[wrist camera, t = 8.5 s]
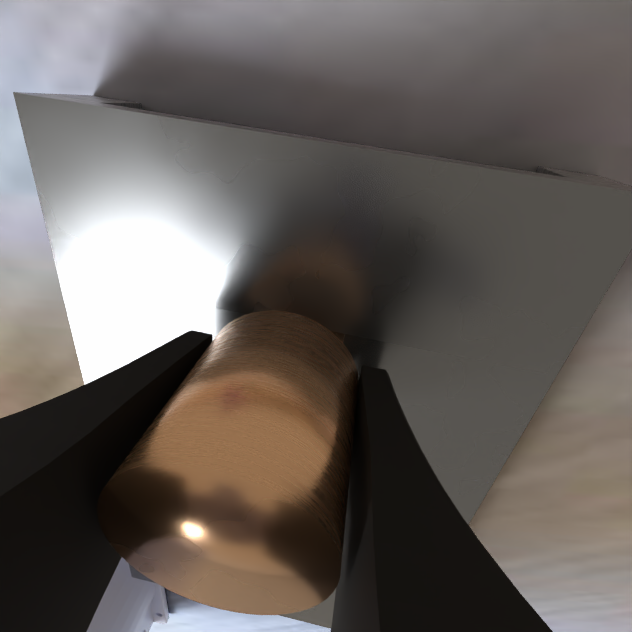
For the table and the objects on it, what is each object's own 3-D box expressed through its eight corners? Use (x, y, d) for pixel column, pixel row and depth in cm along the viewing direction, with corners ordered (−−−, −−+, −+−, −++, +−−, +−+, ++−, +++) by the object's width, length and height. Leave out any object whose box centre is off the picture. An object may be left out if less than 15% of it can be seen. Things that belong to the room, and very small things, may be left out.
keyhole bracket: (395, 587, 21) (396, 645, 18) (158, 528, 22) (131, 576, 19) (597, 175, 10) (662, 196, 7) (91, 95, 11) (12, 92, 8)
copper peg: (362, 372, 14) (338, 641, 7) (247, 354, 14) (115, 589, 7) (380, 260, 11) (374, 488, 5) (243, 244, 12) (50, 428, 5)
